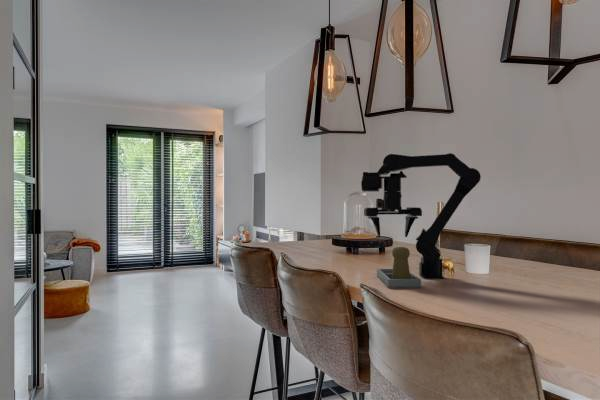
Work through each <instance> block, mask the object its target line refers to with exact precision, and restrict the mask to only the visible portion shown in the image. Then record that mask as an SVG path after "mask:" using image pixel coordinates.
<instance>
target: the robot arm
mask: <svg viewBox="0 0 600 400" xmlns="http://www.w3.org/2000/svg"><path fill="white" fill-rule="evenodd" d="M429 167H431V168H433V167H448V168H449V169H450V170H452V171H453V173H455V174H456V175H457V176H458V177H459V179H458V181H457V183H456V185H455V187H454V191H453V193H452V194H451V196H450V197H449V198H448V200H447V201H446V203H445V204H444V206H443V207H442V208H441V209H440V212H439V214H437V216H436V218H435V219H434V221H433V223H432V224H431V226H430V227H429V228H427V229H425V228H422V230H421V233H420V234H419V235H418V236H417V237H416V239H415V241H416V243H415V249H416V251H417V252H418V253H419V254H421V256H422V257H420V262H418V271H419V273H418V274H419V276H420V277H422V278H423V279H426V280H427V279H445V276H444V275H443V258H441V255H442V253H441V250H440V249H439V248H438V247H437V246H436V245H437V242H438V241H439V237H440V236H441V232H442V231H443V230H444V228H445V227H446V225H447V224H448V222H449V221H450V219H451V218H452V216H453V214H454V213H455V212H456V210H457V209H458V207H459V206H460V205H461V203H462V201H463V200H464V198H465V197H466V196H467V195H468V194H469V193H470V192H471V191H472V190H473V189H474V188H475V187H476V186H477V185H478V184H479V183H480V181H481V177H482V175H481V173H480V172H479V170H478V169H476V168H474V167H469V166H468V165H467V164H466V163H464V162H463V161H462V160H460V159H459V157H457V156H456V154H454V153H446V154H433V155H432V154H430V155H414V156H411V155H404V154H393V153H390V154H387V155H386V156H385V157H384V159H383V160H382V165H381V166H380V168H379V169H378V170H377V172H373V171H372V172H368V171H363V172H362V177H361V184H360V185H361V191H362V192H367V193H368V192H375V193H376V192H380V189H383V199H382V198H376V199H375V207H364V209H363V215H364V216H365V217H367V218H368V219H369V220H371V221H372V224H373V226H374V228H375V231H376V234H377V237H378V238H380V237H381V227H380V226H381V225H380V217H378V215H406V216H405V217H404V218H405V226H404V227H405V229H404V238H408V236H409V233H410V231H411V228H412V225H413V224H414V222H415V221H416V219H419V217H422V216H423V210H422V208H421V207H417V206H414V207H413V206H411V207H405V208H402V197H403V196H402V195H403V194H402V179H406V178H408V176H407V175H406V174H405V173H404V171H405V170H409V169H411V168H429ZM388 174H390V175H388ZM387 175H388V176H387Z"/></svg>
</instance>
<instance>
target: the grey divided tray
mask: <svg viewBox="0 0 600 400" xmlns="http://www.w3.org/2000/svg"><path fill="white" fill-rule="evenodd" d="M392 271H393V268H376V277H377V279H379V280H380V282H382V284H384V285H385V286H386V287H387V288H388V289H421V288H422V279H421V278H419V277H418V276H417V275H415V274H414V273H412V272H411V271H410V278H411V279H392Z"/></svg>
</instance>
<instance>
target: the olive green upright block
mask: <svg viewBox="0 0 600 400" xmlns="http://www.w3.org/2000/svg"><path fill="white" fill-rule="evenodd" d="M410 253H411V252H410V249H409V248H407V247H404V246H396V247H394V248H393V249H392V252H391V255H392V257H393V264H392V269H393V271H392V279H411V278H410V272H411V271H410V265H409V264H410V263H409V257H410Z"/></svg>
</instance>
